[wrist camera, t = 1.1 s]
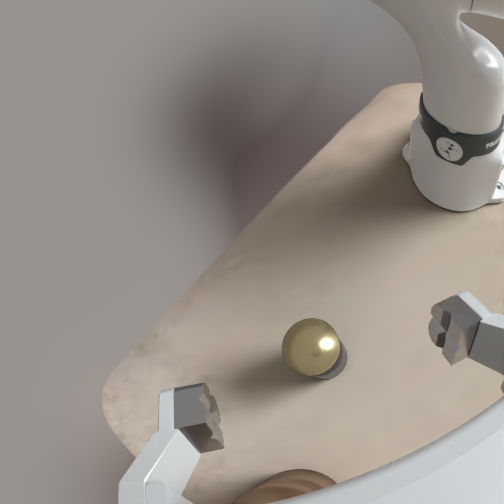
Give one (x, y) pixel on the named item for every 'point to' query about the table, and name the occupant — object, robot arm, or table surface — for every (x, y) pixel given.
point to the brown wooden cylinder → (286, 486)
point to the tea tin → (314, 349)
